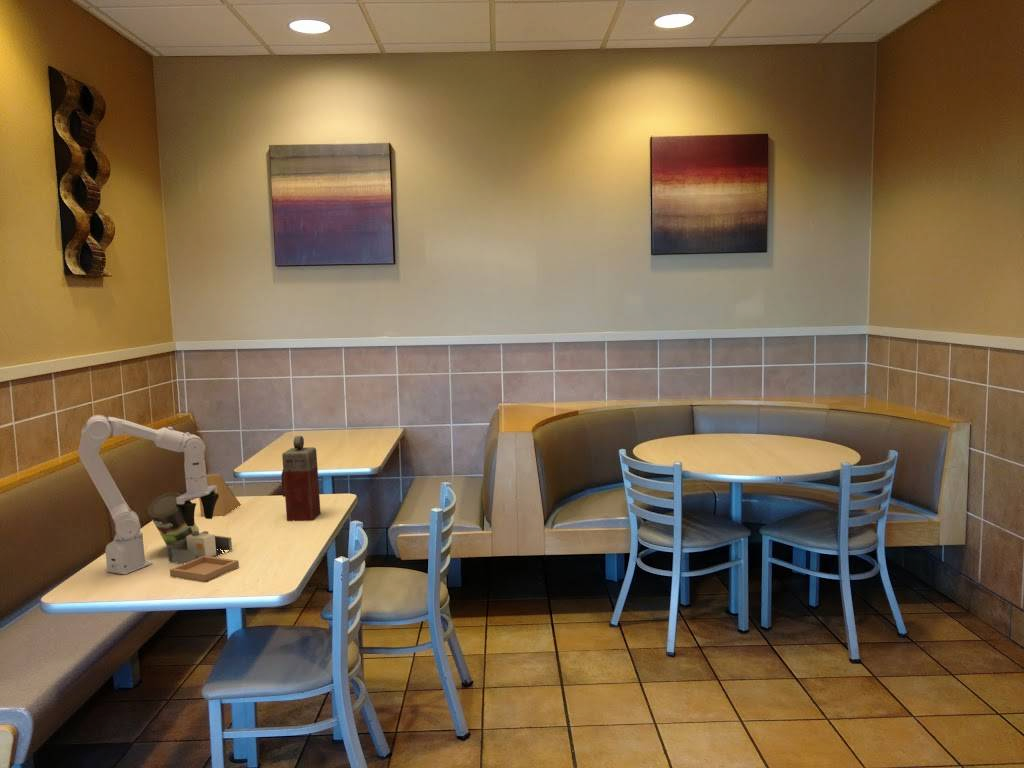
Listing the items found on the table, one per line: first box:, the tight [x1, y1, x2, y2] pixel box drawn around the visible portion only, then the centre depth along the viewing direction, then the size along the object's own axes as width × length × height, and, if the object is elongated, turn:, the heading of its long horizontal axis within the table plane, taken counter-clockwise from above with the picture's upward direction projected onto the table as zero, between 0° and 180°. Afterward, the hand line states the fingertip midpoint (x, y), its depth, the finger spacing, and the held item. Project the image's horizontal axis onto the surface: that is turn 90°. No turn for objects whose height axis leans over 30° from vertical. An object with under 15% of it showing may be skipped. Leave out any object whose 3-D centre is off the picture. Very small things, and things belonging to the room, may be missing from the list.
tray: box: [169, 556, 240, 583], centre depth 219 cm, size 12×13×2 cm
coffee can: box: [147, 492, 200, 547], centre depth 240 cm, size 10×10×14 cm
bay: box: [166, 530, 233, 564], centre depth 233 cm, size 14×10×5 cm
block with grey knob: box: [186, 530, 216, 558], centre depth 233 cm, size 4×7×7 cm, turn 65°
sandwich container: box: [198, 474, 242, 518], centre depth 284 cm, size 9×15×15 cm, turn 175°
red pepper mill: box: [280, 435, 322, 522], centre depth 270 cm, size 9×11×28 cm
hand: (199, 522), depth 233 cm, fingers open, 7 cm apart
